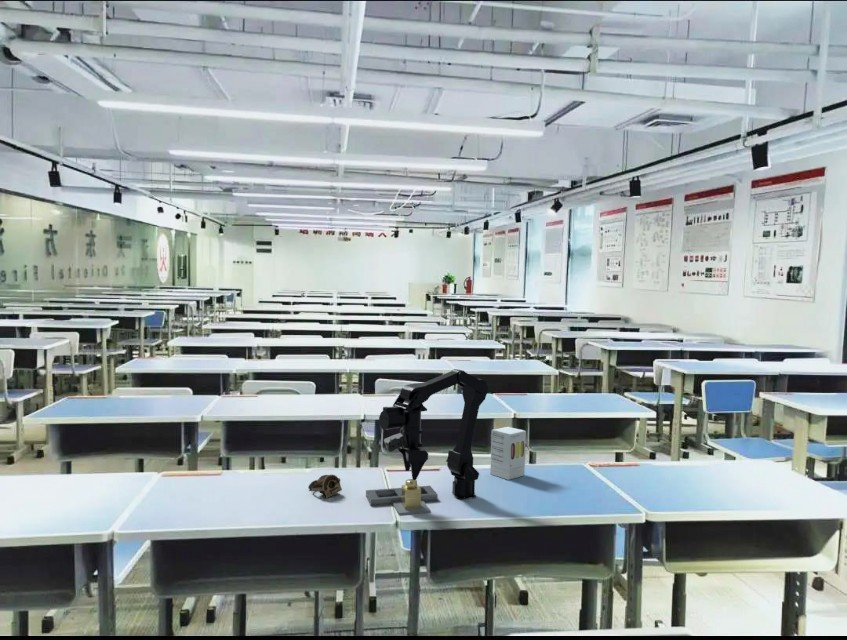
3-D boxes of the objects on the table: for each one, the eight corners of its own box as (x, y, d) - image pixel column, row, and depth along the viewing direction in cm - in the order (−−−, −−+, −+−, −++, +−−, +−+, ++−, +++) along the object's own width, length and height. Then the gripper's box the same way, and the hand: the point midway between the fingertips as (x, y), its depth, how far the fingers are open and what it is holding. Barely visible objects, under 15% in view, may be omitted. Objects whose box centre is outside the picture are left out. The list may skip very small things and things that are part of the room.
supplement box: (508, 480, 226) (509, 434, 225) (489, 474, 233) (490, 429, 232) (525, 475, 232) (526, 430, 231) (506, 469, 239) (507, 425, 238)
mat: (422, 501, 203) (422, 499, 203) (430, 512, 194) (430, 510, 194) (392, 503, 201) (392, 501, 201) (398, 514, 191) (398, 513, 191)
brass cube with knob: (416, 502, 200) (416, 477, 200) (420, 508, 196) (421, 482, 195) (401, 503, 199) (401, 479, 199) (405, 509, 194) (405, 484, 194)
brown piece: (311, 485, 202) (341, 475, 205) (303, 470, 214) (332, 461, 217) (316, 504, 204) (345, 495, 207) (307, 488, 215) (335, 479, 219)
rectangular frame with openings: (430, 491, 213) (430, 485, 213) (437, 500, 204) (437, 494, 204) (365, 496, 207) (365, 490, 207) (370, 505, 199) (370, 499, 198)
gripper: (380, 420, 203) (379, 468, 203) (392, 434, 185) (391, 486, 185) (413, 419, 205) (413, 466, 206) (429, 432, 187) (428, 484, 188)
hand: (410, 475), depth 197 cm, fingers open, 9 cm apart
